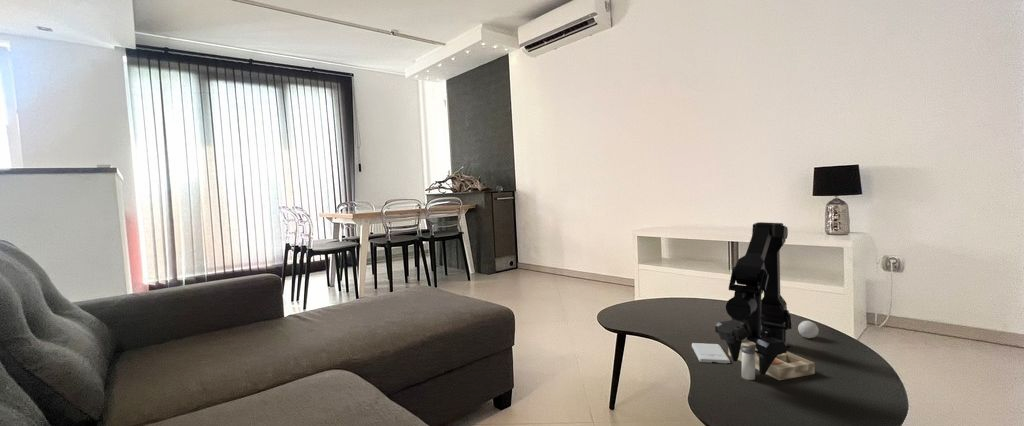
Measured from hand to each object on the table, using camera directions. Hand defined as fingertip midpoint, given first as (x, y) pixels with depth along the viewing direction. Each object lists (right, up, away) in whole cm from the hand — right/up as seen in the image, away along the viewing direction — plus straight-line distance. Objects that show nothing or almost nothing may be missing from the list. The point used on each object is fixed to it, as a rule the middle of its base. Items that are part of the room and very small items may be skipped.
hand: (748, 367), depth 118 cm
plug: (0, -3, 0) cm, 3 cm away
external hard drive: (-3, -2, +16) cm, 16 cm away
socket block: (+10, -2, +8) cm, 13 cm away
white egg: (+35, 0, +28) cm, 45 cm away
